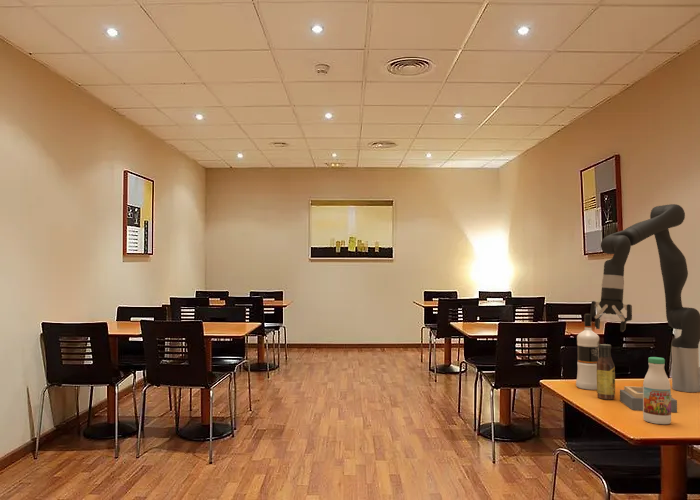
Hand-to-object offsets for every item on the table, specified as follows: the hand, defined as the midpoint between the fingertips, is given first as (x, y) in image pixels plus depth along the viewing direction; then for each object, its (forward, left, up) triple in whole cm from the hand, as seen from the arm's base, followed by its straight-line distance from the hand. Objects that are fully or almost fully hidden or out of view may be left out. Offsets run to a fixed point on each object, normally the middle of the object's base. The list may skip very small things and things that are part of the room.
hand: (609, 330), depth 207 cm
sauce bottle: (+2, +2, -25) cm, 26 cm away
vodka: (+4, -16, -25) cm, 30 cm away
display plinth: (-9, +12, -25) cm, 29 cm away
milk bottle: (-5, +33, -25) cm, 42 cm away
